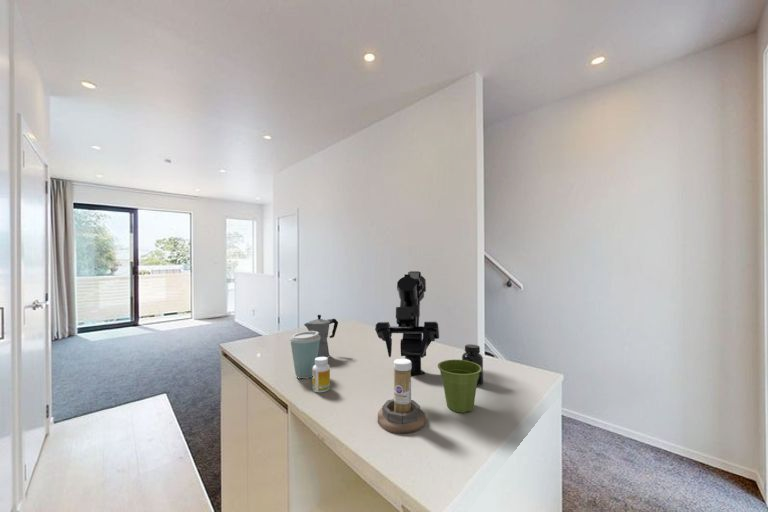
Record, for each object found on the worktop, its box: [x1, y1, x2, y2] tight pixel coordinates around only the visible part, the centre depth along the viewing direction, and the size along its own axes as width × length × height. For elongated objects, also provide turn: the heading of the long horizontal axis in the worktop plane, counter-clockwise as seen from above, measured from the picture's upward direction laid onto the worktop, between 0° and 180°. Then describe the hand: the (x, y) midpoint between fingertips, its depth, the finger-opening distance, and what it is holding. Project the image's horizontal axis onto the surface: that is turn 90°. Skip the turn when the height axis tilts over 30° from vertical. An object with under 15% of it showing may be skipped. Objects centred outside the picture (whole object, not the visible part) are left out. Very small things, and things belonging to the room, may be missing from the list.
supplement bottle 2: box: [461, 344, 484, 386], centre depth 101 cm, size 7×7×12 cm
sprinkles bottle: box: [393, 358, 412, 414], centre depth 77 cm, size 5×5×13 cm
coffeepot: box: [303, 314, 339, 357], centre depth 129 cm, size 15×9×18 cm, turn 125°
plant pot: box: [437, 359, 482, 414], centre depth 84 cm, size 12×12×11 cm
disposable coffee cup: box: [289, 330, 321, 379], centre depth 107 cm, size 11×11×15 cm
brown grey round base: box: [377, 398, 426, 435], centre depth 76 cm, size 12×12×4 cm
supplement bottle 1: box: [311, 357, 331, 393], centre depth 96 cm, size 5×5×10 cm
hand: (405, 357), depth 85 cm, fingers open, 9 cm apart
